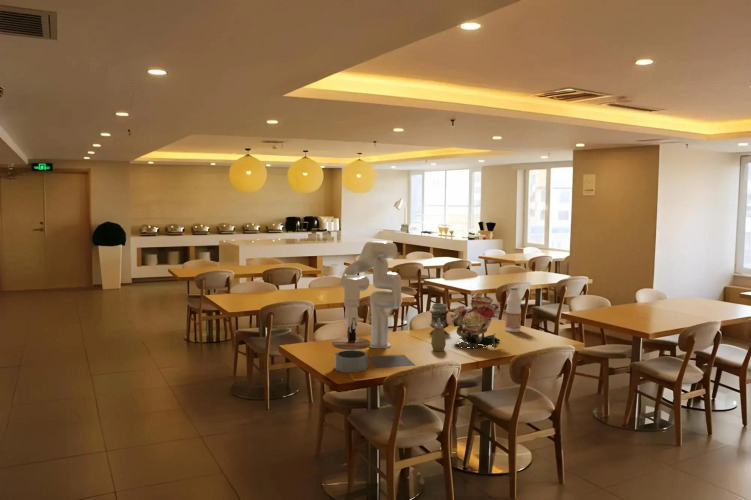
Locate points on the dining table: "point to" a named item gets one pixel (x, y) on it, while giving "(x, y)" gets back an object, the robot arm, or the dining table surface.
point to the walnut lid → (351, 343)
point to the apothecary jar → (439, 315)
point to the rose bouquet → (475, 322)
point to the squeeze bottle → (438, 337)
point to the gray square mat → (391, 361)
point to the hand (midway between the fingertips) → (351, 339)
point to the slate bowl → (351, 361)
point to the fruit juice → (513, 311)
